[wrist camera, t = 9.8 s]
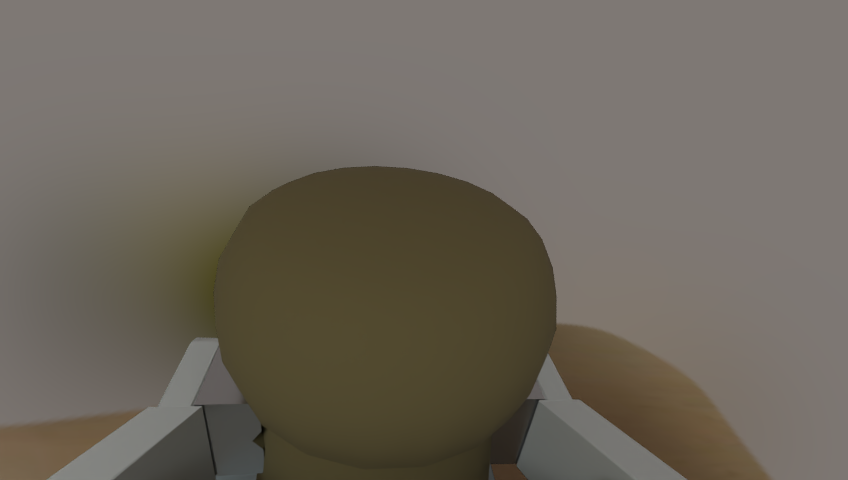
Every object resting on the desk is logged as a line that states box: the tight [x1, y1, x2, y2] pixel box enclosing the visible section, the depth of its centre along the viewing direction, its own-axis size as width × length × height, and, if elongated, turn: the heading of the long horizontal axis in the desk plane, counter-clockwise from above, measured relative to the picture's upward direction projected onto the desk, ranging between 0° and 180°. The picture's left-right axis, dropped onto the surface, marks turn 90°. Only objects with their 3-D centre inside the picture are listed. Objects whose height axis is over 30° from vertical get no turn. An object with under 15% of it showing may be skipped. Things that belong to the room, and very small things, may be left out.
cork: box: [214, 166, 556, 480], centre depth 9 cm, size 6×6×11 cm
